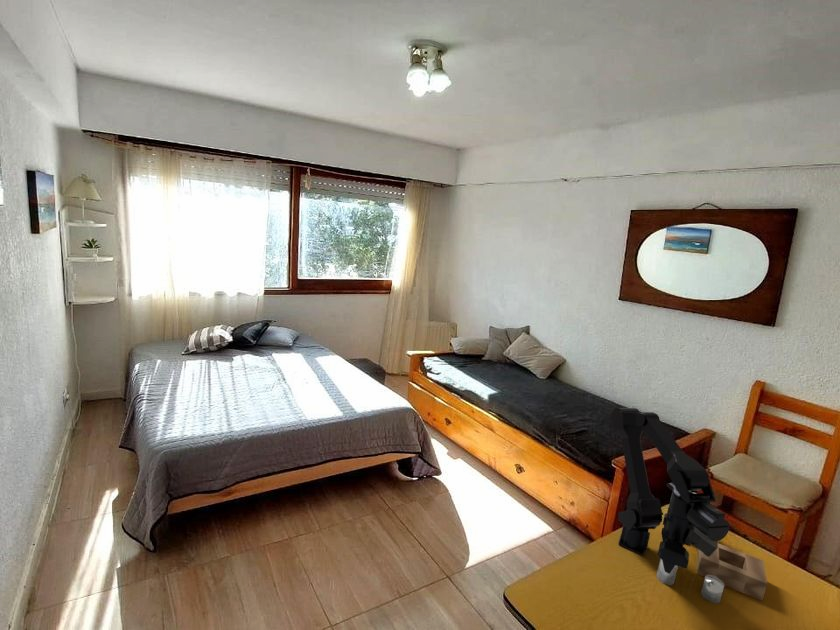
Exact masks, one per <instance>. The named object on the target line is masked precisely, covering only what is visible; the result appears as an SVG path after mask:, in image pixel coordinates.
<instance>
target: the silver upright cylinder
mask: <svg viewBox="0 0 840 630" xmlns="http://www.w3.org/2000/svg"><path fill="white" fill-rule="evenodd" d="M657 567H658V568H657V573H656V578H657V580H658V581H659V582H661V583H662V584H664V585H667V586H672V585H674V583H675V579H676V577H677V572H678V568H679V566H676V565H675V567H674V568H673V570H672V571H671V572H670V574H669V573H667V572H665V570H664V566H663V562H662V559H660V558H659V562H658V566H657Z"/></svg>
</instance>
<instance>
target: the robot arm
mask: <svg viewBox="0 0 840 630" xmlns="http://www.w3.org/2000/svg"><path fill="white" fill-rule="evenodd" d="M610 422H611V425H612V428H613V431H614V432H615V433H616V435H617V436H618V437H619V439H620V441H621V445H622V451H623V456H624V463H625V467H626V469H625V470H626V474H627V480H628V485H629V492H630V493H629V495H628V497H627V501H626V502H625V503H626V510H623V511H619V512H618V513H617V515H618V519H617V520H618V521H619V522H620V524H621V525H622V529H621V534H620V536H619V541H618V543H617V544H618V545H619V546H620V547H622V548H625V549H628V550H630V551H632V552H634V553H637V554H639V555H642V556H643V555H644V554H645V551H647V550H648V545H649V542H650V536H651V533H650V531H649V530H655V529H656V528H657V527H659V526H660V525H661V523H662V526H663V527H662V528H661V539H662V540H661V541H660V542H659V546H658V551H657V557H658V559H659V560H660V559H662V562H663V566H664V570H665V572H667V573H669V574H670V572H671V571H672V570H673V568H674V567H675V565H676V566H678V568H682V569H688V565H689V561H690V553H689V551H688V549H686V547H684V545H685V546H687V547H691V545H692V546H693V547H695V548H696V549H697V550H698V549H699V550H700V551H702V552H703V553H704V554H705V555H706V556H708V557H710V555H711V554H712V553H713V552H714V551H715V550H716V549H717V548H718V543H719V541H722V540H724V538H725V537H726V536H727V535H728V533H729V531H730V524H729V521H728V520H727V519H726V518H725V517H726V514H725V512H723V511H722V510H721V509H718V508H717V507H715V506H714V505H713V504H711V503H716V502H717V500H716V497H715V492H714V490H713V487H712V484H711V481H710V475H709V473H708V472H707V470H706V468H705V467H703V465H701V463H700V462H698V460H696V459H695V458H693V457H691V456H690V455H687V454H686V452H685V451H684V450H683V449H682V448H681V446H680V445H679V444H678V442H677V441H676V439H674V437H673V436H672V435H671V433H670V432H669V431H668V429H667V428H666V427H665V425H664V424H663V423H662V422H661V419H660V417H659V414H657V413H655V412H653V411H652V412H651V411H649V412H648V411H646V412H645V411H640V410H639V409H638V408H636V407H616V408H613V410H612V411H611V413H610ZM643 432H644V433H645V434H646V436H647V437H648V438H649V440H650V441H651V443H652V444H653V446H654V447H655V448H656V451H658V452H659V454H660V455H661V457H662V458H663V460H664V461H665V464H666V472H667V474H668V476H669V478H670V479H671V482H670V483H669V482H668V483H666V488H668V489H669V490H671V491H672V493H671V496H670V501H669V505H668V508H667V512H666V513H664V512H663V509H662V503H661V500H660V498H655V496H654V495H653V494H652V492H651V489H650V485H649V481H648V480H649V479H648V475H647V468H646V464H645V458H644V453H643V448H642V442H641V437H642V434H643ZM692 491H702V492H697V493H696V492H692ZM663 515H664V516H663Z"/></svg>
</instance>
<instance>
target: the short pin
mask: <svg viewBox="0 0 840 630" xmlns="http://www.w3.org/2000/svg"><path fill="white" fill-rule="evenodd" d="M724 588H725V585H724V583H723V581H722V580H721V579H719V578H718V577H716V576H713V575H706V576H705V577H704V581H703V585H702V587H701V591H700V593H701V596H702V597H703V598H704V599H705V600H707V601H708V602H710V603H713V604H719V603H721V598H722V596H723V591H724Z"/></svg>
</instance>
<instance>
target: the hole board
mask: <svg viewBox="0 0 840 630" xmlns="http://www.w3.org/2000/svg"><path fill="white" fill-rule="evenodd" d="M717 543H718V548H717V549H716V550H715V551H714V552H713V553H712V554H711V555H710V557H708V556H706V555H705V554H704V553H703V552H702V551H700V550H699V549H698V548H697V561H696V562H697V563H696V564H697V565H696V567H697V568H696V573H697V575H700V576H702V577H704V578H705V576H706V575H713V576H716V577H718V578H719V579H721V580H722V581H723V583H724V587H725V586H726V587H727V588H730V589H732V590H736V591H737V592H740V593H743V594H744V595H747V596H749V597H752V598H754V599H755V600H759V601H760V602H762V601H763V600H764V596H765V592H766V590H767V586H768V580H767V579H768V578H767V574H766V569H765V564H764V560H762V559H759V558H758V557H755V556H753V555H749V554H747V553H744V552H742V551H739V550H736V549H734V548H732V547H729V546H726V545H723V544H721V543H719V542H717Z"/></svg>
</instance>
